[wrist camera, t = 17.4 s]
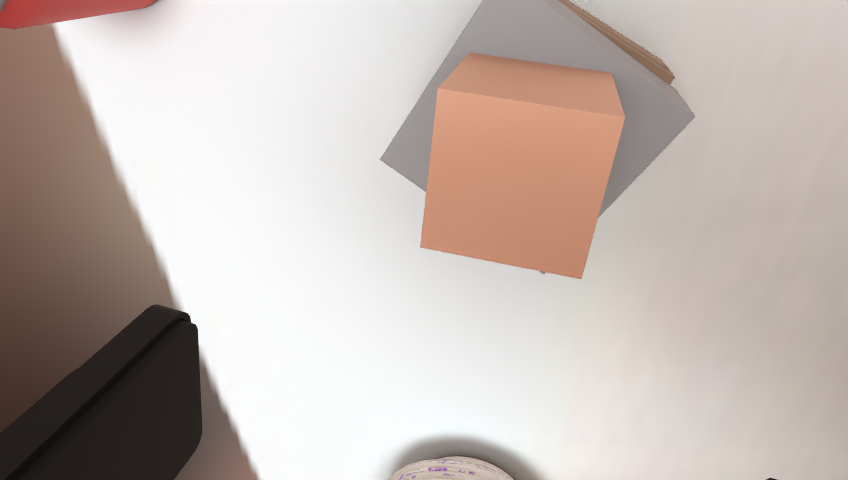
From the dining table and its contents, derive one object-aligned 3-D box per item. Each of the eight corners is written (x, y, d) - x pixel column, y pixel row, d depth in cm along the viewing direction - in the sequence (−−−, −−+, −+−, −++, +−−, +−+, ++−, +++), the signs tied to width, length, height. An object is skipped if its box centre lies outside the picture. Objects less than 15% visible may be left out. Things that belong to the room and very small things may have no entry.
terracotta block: (611, 72, 24) (625, 117, 18) (578, 202, 27) (581, 278, 21) (469, 52, 25) (437, 88, 19) (453, 180, 28) (420, 247, 22)
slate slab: (512, -34, 27) (502, -29, 23) (676, 89, 28) (695, 116, 24) (405, 130, 32) (379, 159, 28) (546, 231, 33) (543, 274, 29)
